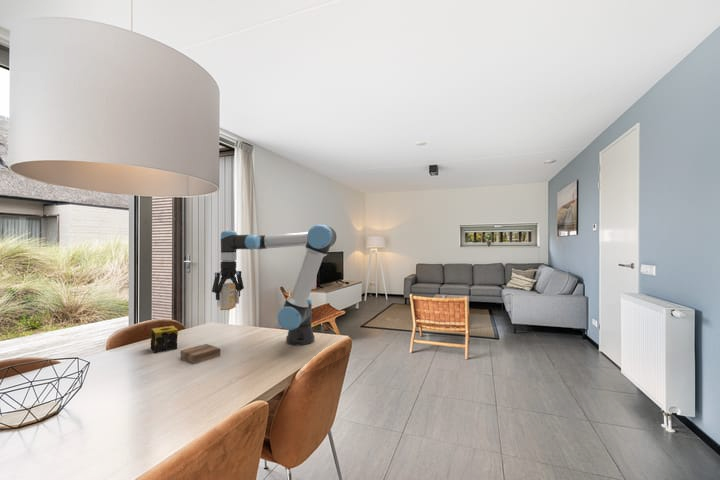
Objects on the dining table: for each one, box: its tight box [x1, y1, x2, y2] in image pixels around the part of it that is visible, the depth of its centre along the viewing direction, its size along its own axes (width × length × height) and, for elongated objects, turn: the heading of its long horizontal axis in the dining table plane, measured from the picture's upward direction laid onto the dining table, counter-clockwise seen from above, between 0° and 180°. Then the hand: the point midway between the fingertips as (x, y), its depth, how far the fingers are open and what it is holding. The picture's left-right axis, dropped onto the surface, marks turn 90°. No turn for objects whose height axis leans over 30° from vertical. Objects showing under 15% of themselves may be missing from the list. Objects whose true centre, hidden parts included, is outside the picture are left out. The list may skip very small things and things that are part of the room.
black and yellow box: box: [150, 325, 179, 354], centre depth 155 cm, size 10×10×10 cm
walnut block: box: [180, 343, 221, 365], centre depth 143 cm, size 12×12×4 cm
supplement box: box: [219, 282, 237, 311], centre depth 159 cm, size 8×5×13 cm, turn 179°
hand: (228, 304), depth 159 cm, fingers closed on supplement box, 9 cm apart
